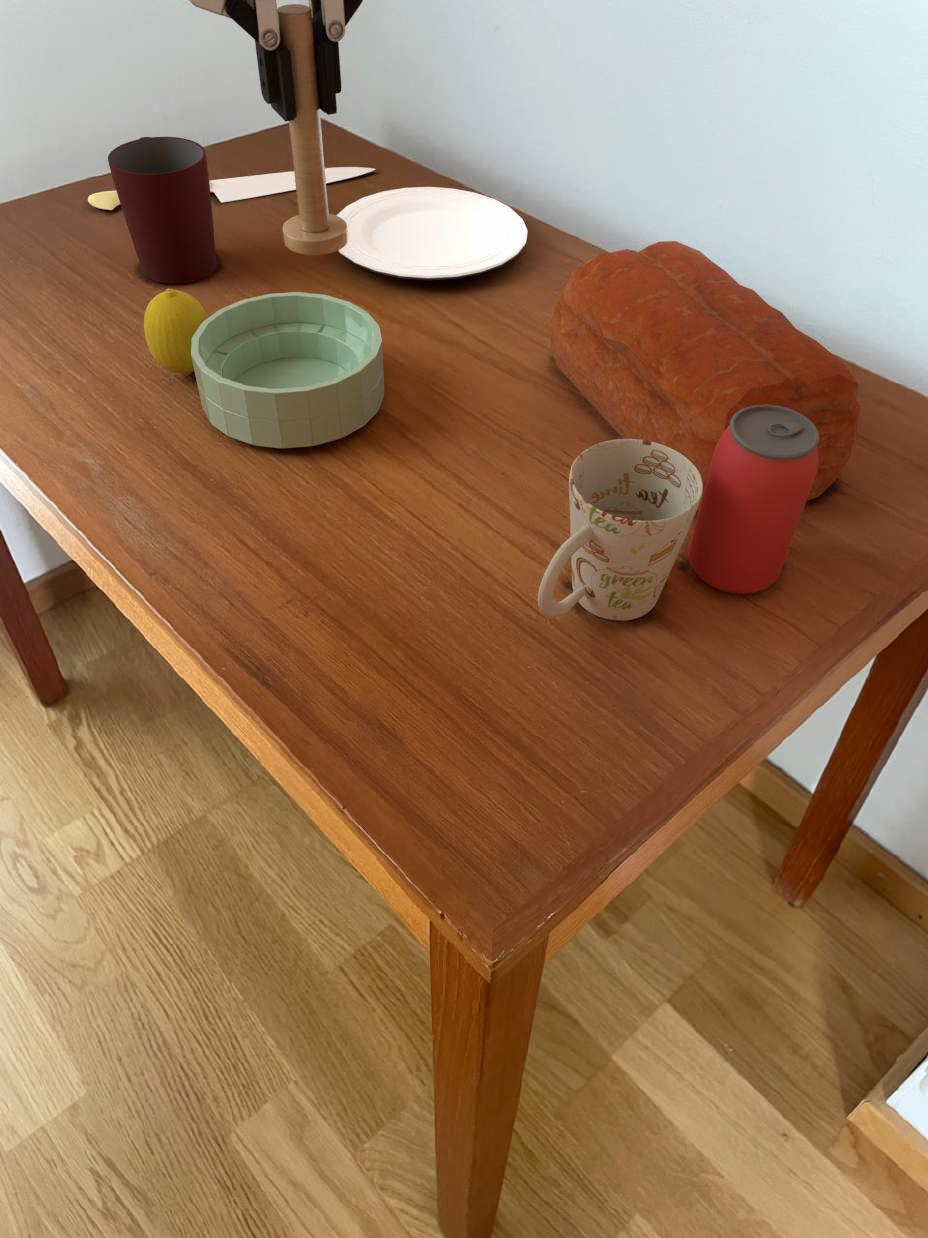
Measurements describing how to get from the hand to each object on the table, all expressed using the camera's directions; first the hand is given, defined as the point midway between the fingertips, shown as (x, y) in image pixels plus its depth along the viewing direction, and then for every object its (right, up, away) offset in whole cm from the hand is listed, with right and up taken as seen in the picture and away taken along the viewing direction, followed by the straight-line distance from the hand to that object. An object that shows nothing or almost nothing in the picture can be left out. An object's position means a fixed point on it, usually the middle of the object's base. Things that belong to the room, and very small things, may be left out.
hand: (303, 107), depth 61 cm
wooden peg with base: (0, -6, +6) cm, 9 cm away
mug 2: (+19, -31, +6) cm, 37 cm away
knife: (-16, +17, +50) cm, 55 cm away
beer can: (+29, -28, +9) cm, 42 cm away
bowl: (-4, -13, +22) cm, 26 cm away
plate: (+6, +8, +42) cm, 43 cm away
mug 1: (-20, +5, +39) cm, 44 cm away
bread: (+29, -15, +22) cm, 39 cm away
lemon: (-14, -11, +25) cm, 30 cm away
